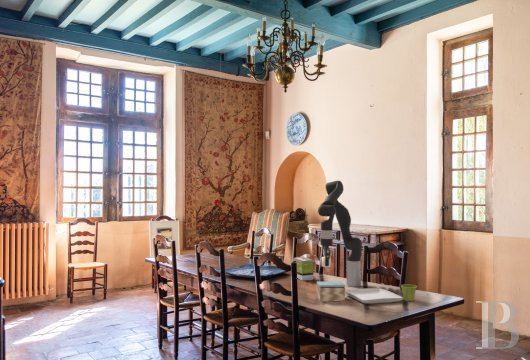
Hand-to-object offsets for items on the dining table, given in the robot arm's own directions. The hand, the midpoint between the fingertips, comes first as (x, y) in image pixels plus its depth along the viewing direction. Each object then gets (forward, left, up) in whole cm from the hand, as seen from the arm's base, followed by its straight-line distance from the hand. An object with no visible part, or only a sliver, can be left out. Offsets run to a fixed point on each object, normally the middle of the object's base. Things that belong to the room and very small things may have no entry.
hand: (326, 265), depth 285 cm
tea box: (+7, -61, -20) cm, 65 cm away
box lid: (-2, +3, -12) cm, 12 cm away
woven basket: (-2, +3, -20) cm, 20 cm away
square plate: (-28, +3, -21) cm, 35 cm away
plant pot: (-49, +7, -20) cm, 53 cm away
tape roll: (0, 0, -1) cm, 1 cm away
